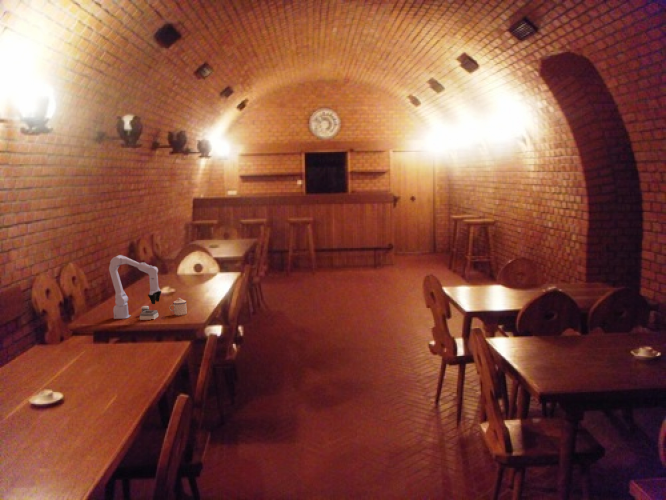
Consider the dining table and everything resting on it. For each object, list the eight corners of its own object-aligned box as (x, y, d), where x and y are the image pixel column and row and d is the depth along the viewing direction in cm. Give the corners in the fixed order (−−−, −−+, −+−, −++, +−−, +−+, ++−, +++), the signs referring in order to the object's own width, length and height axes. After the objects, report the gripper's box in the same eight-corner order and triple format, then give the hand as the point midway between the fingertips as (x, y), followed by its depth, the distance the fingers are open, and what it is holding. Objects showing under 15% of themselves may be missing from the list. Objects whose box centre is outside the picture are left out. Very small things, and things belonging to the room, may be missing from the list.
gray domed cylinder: (141, 315, 420) (140, 307, 419) (143, 314, 425) (143, 305, 424) (148, 315, 420) (147, 307, 419) (150, 313, 425) (149, 305, 424)
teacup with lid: (187, 312, 426) (186, 296, 424) (186, 315, 417) (185, 299, 415) (170, 313, 424) (169, 297, 423) (169, 316, 415) (167, 300, 414)
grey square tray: (139, 319, 409) (139, 313, 408) (144, 316, 418) (144, 310, 417) (153, 319, 408) (153, 313, 408) (158, 316, 417) (158, 309, 417)
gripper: (155, 286, 407) (157, 305, 409) (163, 281, 421) (164, 300, 423) (145, 286, 407) (147, 305, 409) (153, 281, 422) (155, 300, 424)
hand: (155, 302), depth 416 cm, fingers open, 7 cm apart
